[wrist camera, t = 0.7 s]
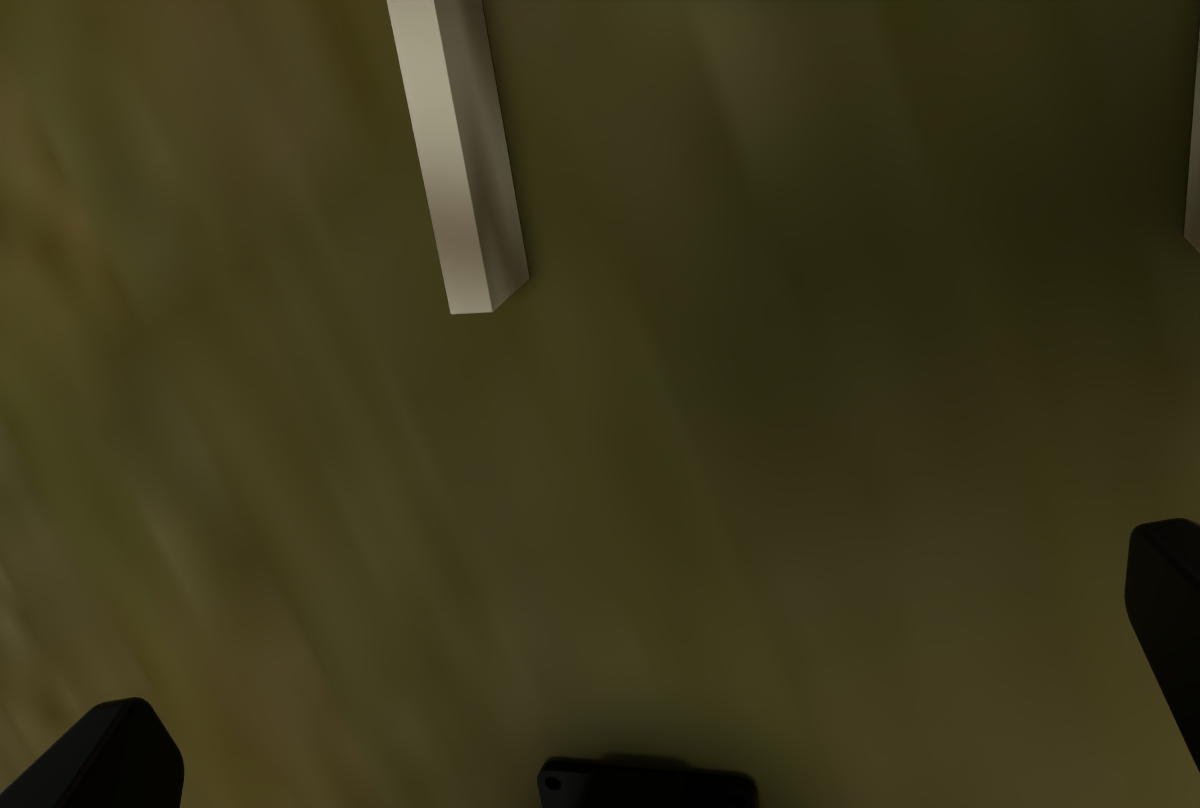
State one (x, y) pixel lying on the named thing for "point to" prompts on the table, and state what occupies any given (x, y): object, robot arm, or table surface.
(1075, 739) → the table surface
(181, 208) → the table surface
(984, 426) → the table surface
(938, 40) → the table surface
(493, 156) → the trap lane
